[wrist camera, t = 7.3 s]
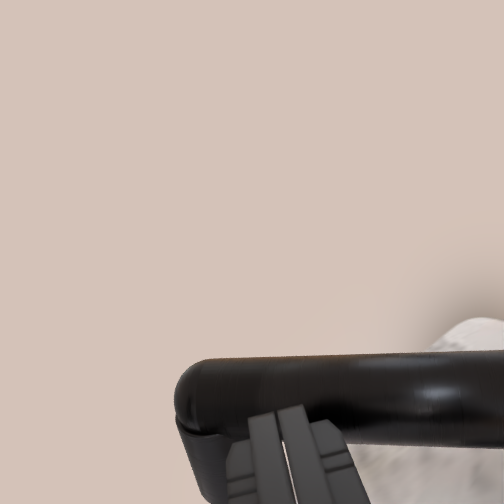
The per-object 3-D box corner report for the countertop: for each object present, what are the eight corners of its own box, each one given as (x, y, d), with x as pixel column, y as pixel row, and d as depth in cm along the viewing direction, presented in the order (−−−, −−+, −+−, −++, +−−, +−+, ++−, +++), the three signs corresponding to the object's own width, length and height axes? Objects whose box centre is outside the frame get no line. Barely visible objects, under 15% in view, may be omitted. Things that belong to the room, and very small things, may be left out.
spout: (179, 526, 13) (119, 378, 11) (219, 428, 17) (179, 302, 15) (1051, 619, 8) (1232, 361, 6) (837, 444, 11) (905, 248, 9)
